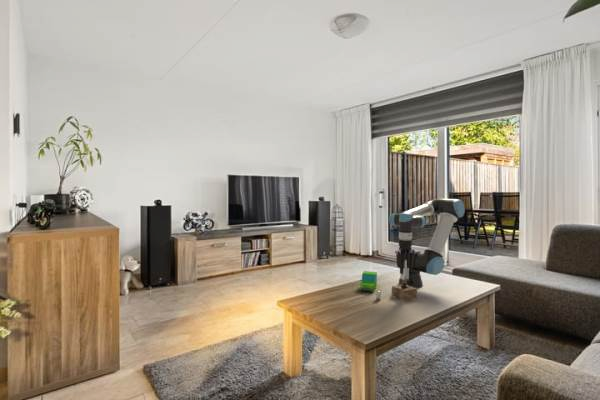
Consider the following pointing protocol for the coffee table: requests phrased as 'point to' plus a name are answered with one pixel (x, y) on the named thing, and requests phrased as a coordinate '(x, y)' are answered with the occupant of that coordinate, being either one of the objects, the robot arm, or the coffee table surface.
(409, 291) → the hole block
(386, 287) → the coffee table surface
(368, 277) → the toy car
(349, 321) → the coffee table surface
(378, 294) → the short pin
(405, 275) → the long pin
